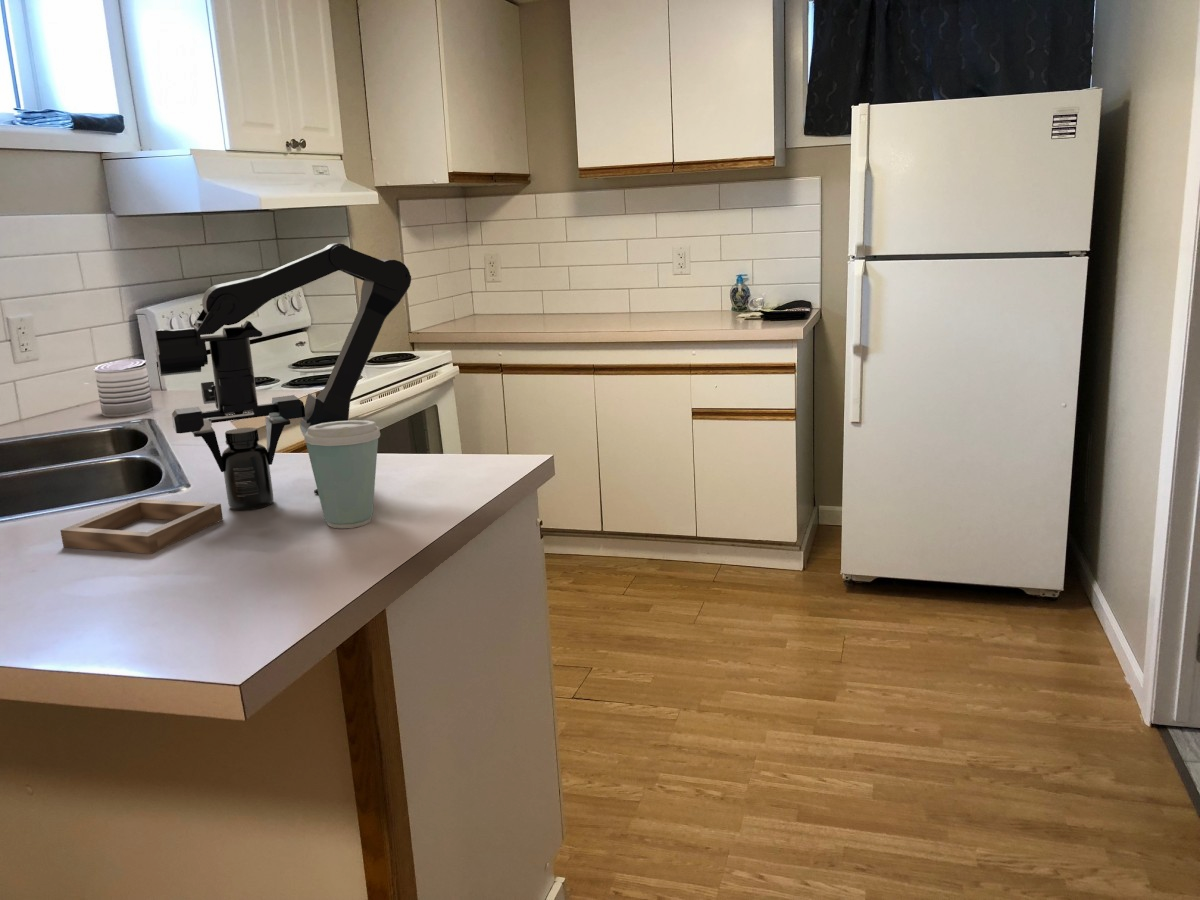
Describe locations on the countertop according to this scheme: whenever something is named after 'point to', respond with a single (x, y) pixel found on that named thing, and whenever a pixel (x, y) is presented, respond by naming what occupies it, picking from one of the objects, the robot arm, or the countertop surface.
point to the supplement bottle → (246, 470)
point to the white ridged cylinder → (123, 388)
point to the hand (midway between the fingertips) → (246, 467)
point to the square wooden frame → (105, 537)
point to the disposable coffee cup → (344, 469)
